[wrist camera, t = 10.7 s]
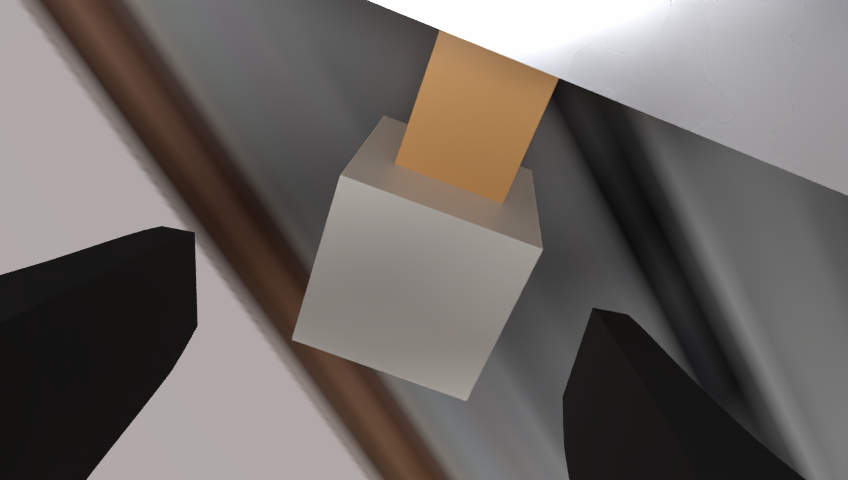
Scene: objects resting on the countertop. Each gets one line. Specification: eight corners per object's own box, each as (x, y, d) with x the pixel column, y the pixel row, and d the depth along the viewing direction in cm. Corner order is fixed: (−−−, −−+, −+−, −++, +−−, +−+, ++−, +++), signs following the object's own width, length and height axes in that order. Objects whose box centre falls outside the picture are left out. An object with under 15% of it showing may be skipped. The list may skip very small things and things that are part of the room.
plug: (832, -485, 9) (1077, -810, 5) (459, 325, 17) (447, 438, 13) (604, -585, 9) (685, -999, 5) (332, 279, 17) (279, 380, 13)
